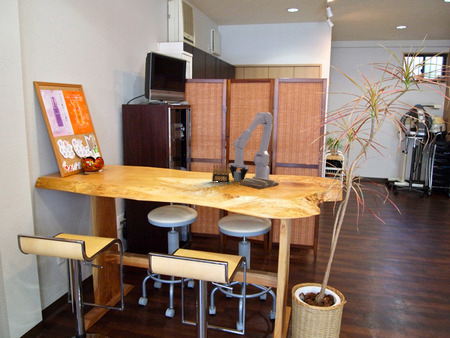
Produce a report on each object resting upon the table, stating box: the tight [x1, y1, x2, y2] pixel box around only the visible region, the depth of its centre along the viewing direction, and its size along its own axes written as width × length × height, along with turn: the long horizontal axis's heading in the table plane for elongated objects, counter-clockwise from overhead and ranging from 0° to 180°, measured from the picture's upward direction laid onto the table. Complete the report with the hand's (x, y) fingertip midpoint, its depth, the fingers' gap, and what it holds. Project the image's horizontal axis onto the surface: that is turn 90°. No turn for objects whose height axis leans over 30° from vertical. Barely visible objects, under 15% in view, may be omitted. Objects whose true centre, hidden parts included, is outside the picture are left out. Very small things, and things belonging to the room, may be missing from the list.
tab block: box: [233, 170, 244, 183], centre depth 241 cm, size 4×4×6 cm
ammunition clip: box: [211, 162, 230, 183], centre depth 234 cm, size 11×2×12 cm, turn 80°
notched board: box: [239, 175, 280, 190], centre depth 231 cm, size 18×16×4 cm
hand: (238, 178), depth 241 cm, fingers open, 7 cm apart
